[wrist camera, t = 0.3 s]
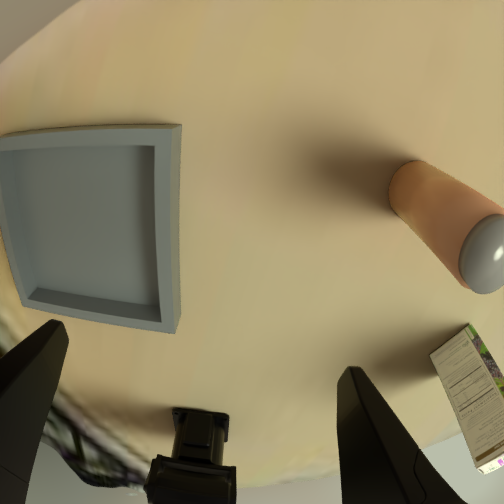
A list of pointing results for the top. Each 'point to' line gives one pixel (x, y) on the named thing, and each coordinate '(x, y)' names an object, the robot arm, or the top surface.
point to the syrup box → (474, 395)
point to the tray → (95, 222)
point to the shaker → (452, 223)
